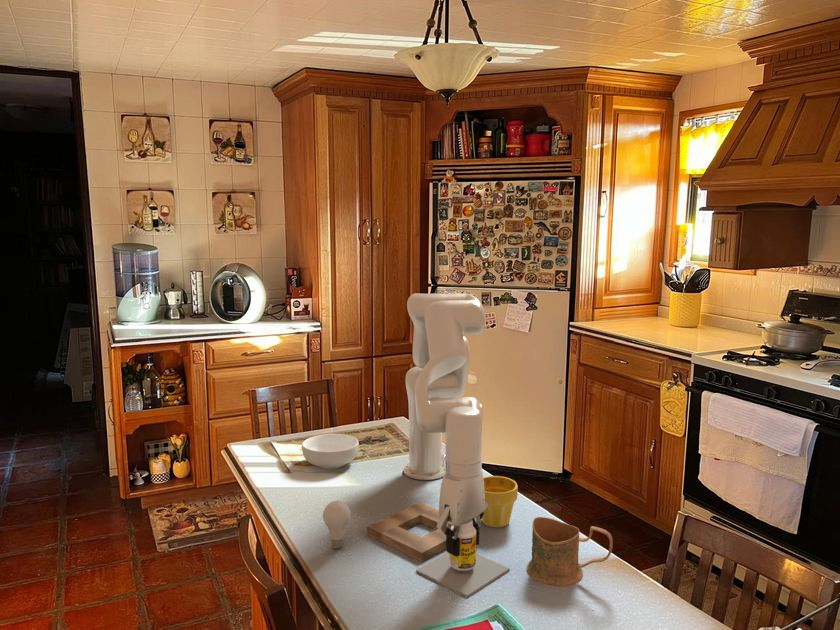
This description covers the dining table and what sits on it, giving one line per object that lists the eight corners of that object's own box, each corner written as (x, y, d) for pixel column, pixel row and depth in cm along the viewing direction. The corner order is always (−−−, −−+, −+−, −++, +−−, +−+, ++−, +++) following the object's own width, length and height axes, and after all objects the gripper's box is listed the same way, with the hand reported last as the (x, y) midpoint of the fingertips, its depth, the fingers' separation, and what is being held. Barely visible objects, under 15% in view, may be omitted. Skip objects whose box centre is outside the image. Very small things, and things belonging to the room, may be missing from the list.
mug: (601, 601, 132) (603, 544, 130) (518, 576, 141) (519, 522, 139) (618, 574, 141) (620, 520, 140) (539, 552, 151) (540, 501, 149)
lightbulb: (356, 544, 154) (355, 499, 153) (342, 557, 149) (340, 510, 147) (333, 539, 157) (332, 494, 155) (318, 551, 151) (317, 505, 150)
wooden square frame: (420, 509, 172) (420, 502, 172) (474, 532, 160) (474, 524, 159) (367, 534, 159) (367, 526, 159) (422, 561, 147) (422, 552, 147)
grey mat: (459, 547, 153) (459, 545, 153) (509, 570, 143) (509, 568, 143) (416, 571, 143) (416, 569, 143) (467, 597, 133) (467, 595, 133)
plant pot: (488, 535, 159) (488, 495, 157) (466, 517, 168) (467, 479, 166) (525, 526, 163) (526, 487, 161) (502, 509, 172) (502, 472, 171)
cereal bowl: (370, 461, 205) (369, 439, 204) (335, 479, 192) (334, 455, 190) (327, 450, 214) (326, 429, 213) (290, 467, 201) (289, 444, 199)
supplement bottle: (460, 575, 139) (460, 528, 137) (444, 563, 144) (444, 518, 142) (481, 567, 142) (481, 521, 140) (465, 555, 147) (465, 511, 145)
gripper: (475, 451, 148) (474, 528, 151) (421, 473, 136) (421, 557, 139) (503, 460, 143) (501, 539, 146) (449, 484, 131) (449, 570, 134)
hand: (462, 547), depth 142 cm, fingers closed on supplement bottle, 5 cm apart
